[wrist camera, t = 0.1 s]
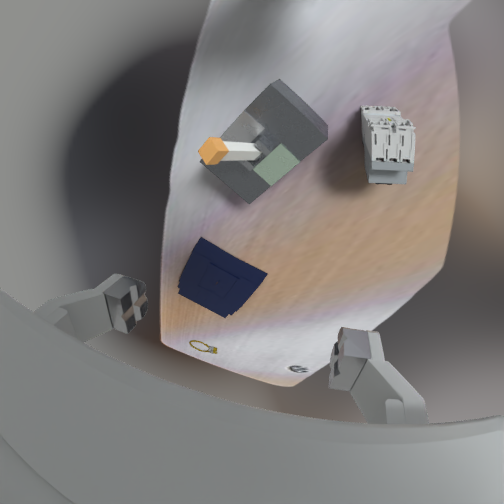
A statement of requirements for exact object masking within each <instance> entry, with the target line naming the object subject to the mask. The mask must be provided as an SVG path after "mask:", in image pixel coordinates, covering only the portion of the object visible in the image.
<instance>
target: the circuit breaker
mask: <svg viewBox="0 0 504 504" xmlns="http://www.w3.org/2000/svg"><path fill="white" fill-rule="evenodd" d="M365 108H368V110H365ZM376 108H377V110H376ZM361 109H362V112H361V121H362V142H363V145H364V150H365V170H366V174H367V179H368V182H369V183H375V184H387V185H392V184H406V181H407V171H411V172H413V167H414V153H415V133H414V132H413V129H416V128H415V127H413V123H412V122H411V121H410V120H406V119H403V118H402V117H400V115H401V114H400V111H399V110H398V109H395V107H382V106H361ZM390 109H391V111H390Z"/></svg>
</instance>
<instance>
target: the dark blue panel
mask: <svg viewBox="0 0 504 504" xmlns="http://www.w3.org/2000/svg"><path fill="white" fill-rule="evenodd" d="M266 276H267V273H265V272H263V271H261V270H259V269H257V268H255V267H253V266H251V265H249V264H247V263H245V262H243V261H241V260H239V259H237V258H235V257H234V256H232V255H230V254H229V253H227V252H225V251H223V250H222V249H220V248H218V247H217V246H215V245H213V244H212V243H210V242H208V241H207V240H205V239H203V238H202V237H201V238H200V239H199V241H198V243H197V244H196V246H195V248H194V250H193V252H192V254H191V256H190V258H189V260H188V262H187V264H186V266H185V268H184V270H183V273H182V275H181V277H180V280H179V282H180V283H179V285H178V288H180V290H179V293H178V294H180V295H182V296H184V297H186V298H188V299H190V300H192V301H193V302H195V303H197V304H199V305H201V306H203V307H205V308H207V309H209V310H211V311H213V312H214V313H216V314H218V315H220V316H222V317H224V318H226V317H227V316H228V314H230V315H232V314H233V313H234V312H235V311H236V312H237V311H238V309H239V308H241V306H242V305H243V304H244V303H245V302H246V301H247V300H248V298H249V297H250V296H251V295H252V294H253V292H254V291H255V290H256V289H257V288H258V287H259V285H260V284H261V283H262V282H263V280H264V278H265V277H266Z"/></svg>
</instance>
